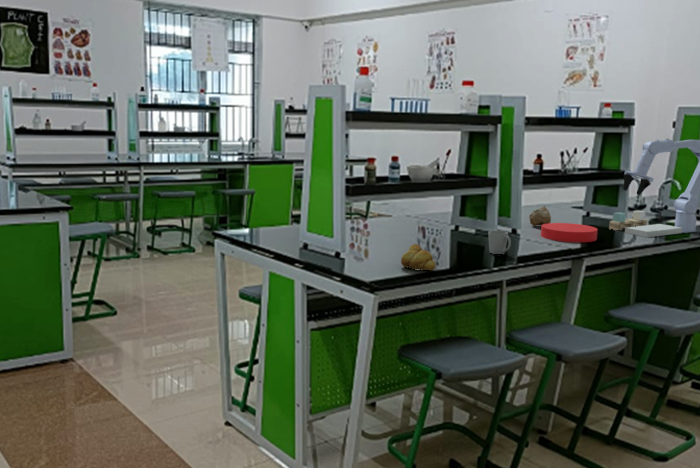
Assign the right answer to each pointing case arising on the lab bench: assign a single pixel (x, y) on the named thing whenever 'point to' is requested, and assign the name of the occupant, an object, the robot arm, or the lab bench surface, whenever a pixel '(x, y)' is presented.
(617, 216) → the crate teal
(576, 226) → the disc
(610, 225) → the beige lumpy bar
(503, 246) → the cup
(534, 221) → the rock
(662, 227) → the dock
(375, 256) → the lab bench surface
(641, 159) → the robot arm
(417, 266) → the bread roll
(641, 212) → the crate white
